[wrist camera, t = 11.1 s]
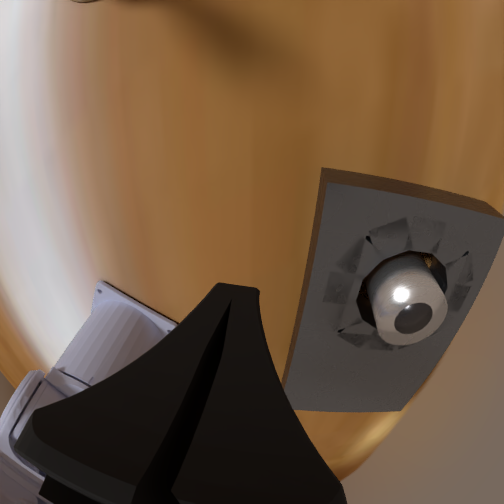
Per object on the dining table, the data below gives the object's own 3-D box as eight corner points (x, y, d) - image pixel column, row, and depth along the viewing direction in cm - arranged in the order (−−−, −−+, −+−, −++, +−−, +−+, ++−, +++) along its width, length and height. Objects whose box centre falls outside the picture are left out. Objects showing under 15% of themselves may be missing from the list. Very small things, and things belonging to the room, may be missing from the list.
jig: (395, 387, 25) (400, 410, 23) (281, 382, 26) (279, 408, 24) (485, 202, 15) (508, 220, 12) (321, 167, 16) (327, 182, 13)
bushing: (391, 302, 20) (407, 353, 16) (349, 275, 19) (361, 328, 15) (432, 262, 18) (459, 308, 14) (393, 228, 17) (419, 274, 13)
